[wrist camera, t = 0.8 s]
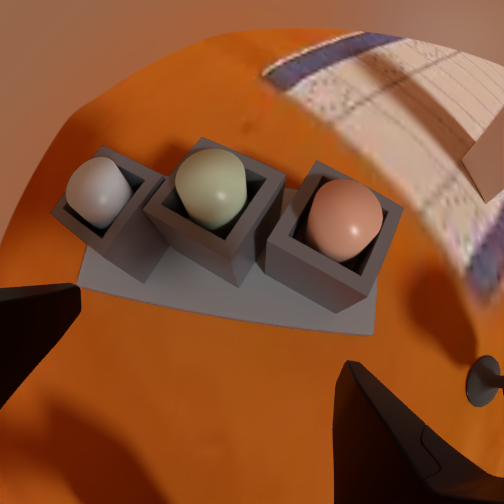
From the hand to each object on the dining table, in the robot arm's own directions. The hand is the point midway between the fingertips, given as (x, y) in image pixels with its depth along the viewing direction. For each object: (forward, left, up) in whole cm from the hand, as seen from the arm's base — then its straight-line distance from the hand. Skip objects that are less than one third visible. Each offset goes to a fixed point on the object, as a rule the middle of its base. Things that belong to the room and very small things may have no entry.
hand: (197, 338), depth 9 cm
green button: (+7, +5, -8) cm, 12 cm away
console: (+6, +5, -14) cm, 16 cm away
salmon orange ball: (+9, -2, -8) cm, 12 cm away
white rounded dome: (+3, +11, -8) cm, 14 cm away
